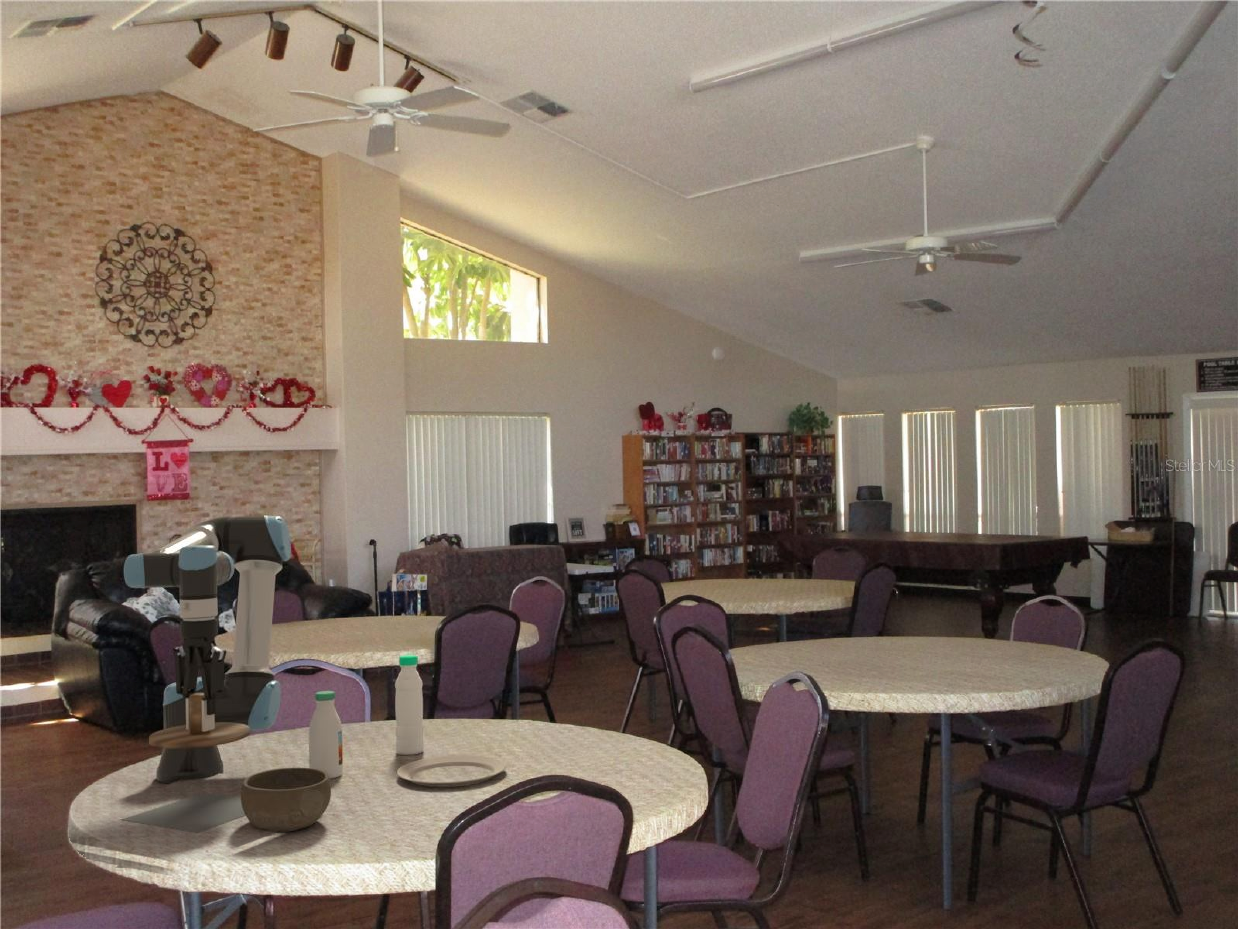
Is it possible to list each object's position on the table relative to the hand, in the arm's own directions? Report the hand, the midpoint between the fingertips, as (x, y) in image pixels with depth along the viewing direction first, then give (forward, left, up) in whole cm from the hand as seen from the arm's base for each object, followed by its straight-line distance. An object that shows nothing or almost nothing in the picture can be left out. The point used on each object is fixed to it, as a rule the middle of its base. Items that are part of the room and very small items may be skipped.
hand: (200, 729), depth 234 cm
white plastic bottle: (+6, +63, -19) cm, 66 cm away
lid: (0, 0, -2) cm, 2 cm away
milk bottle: (+2, +36, -19) cm, 40 cm away
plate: (+30, +48, -19) cm, 60 cm away
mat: (0, 0, -18) cm, 18 cm away
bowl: (+22, +2, -19) cm, 29 cm away
